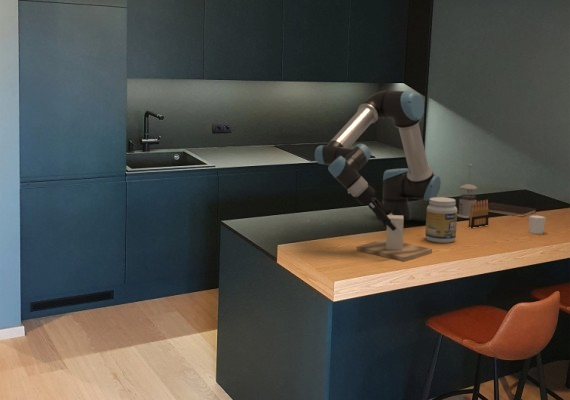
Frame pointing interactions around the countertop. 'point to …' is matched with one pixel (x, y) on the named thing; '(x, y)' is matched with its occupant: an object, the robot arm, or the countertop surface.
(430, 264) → the countertop surface
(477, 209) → the ammunition clip
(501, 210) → the hardcover book
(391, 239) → the off-white block
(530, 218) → the white cup
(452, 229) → the supplement tub
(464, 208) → the french press
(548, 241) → the countertop surface
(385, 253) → the wooden board
